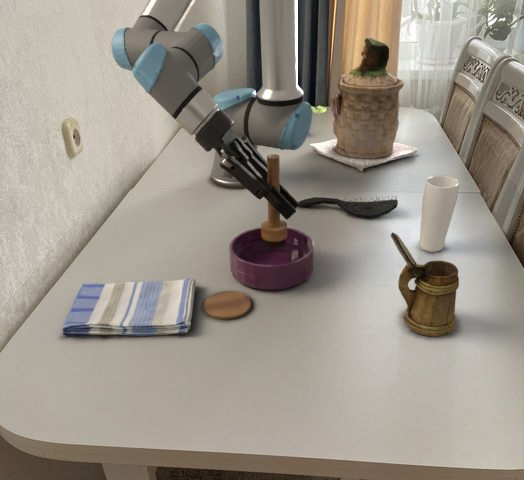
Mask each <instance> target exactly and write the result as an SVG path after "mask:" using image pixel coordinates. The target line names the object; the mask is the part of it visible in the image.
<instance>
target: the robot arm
mask: <svg viewBox="0 0 524 480" xmlns="http://www.w3.org/2000/svg"><path fill="white" fill-rule="evenodd" d="M196 1H197V0H148V1H147V3H146V4H145V6H144V8H143V9H142V11H141V12H140V14H139V16H138V17H137V20H136V21H135V23H134V24H133V26H132V27H128V26H127V27H124V28H123V27H122V28H119V29H118V30H116V31H115V32H114V34H113V35H112V38H111V54H112V57H113V60H114V61H115V63H116V64H117V66H119V67H120V68H121V69H124V70H127V71H132V76H133V78H134V79H135V80H136V81H137V82H138V84H139V85H140V86H141V87H142V88H143V89H144V91H145V92H146V93H147V94H148V95H149V96H150V97H151V98H153V99H154V100H155V102H157V104H159V106H161V107H162V109H164V110H165V112H167V113H168V114H169V115H170V116H171V117H172V118H173V119H174V120H175V121H176V122H177V123H178V125H179V127H180V128H181V129H184V130H185V131H186V132H187V134H189V135H190V136H193V135H194V139H195V142H196V143H197V144H198V145H199V146H200V147H202V149H204V151H205V152H211V150H212V149H213V150H215V155H214V159H213V164H212V168H211V172H210V174H211V175H210V176H211V181H212V183H214V184H215V185H217V186H219V187H223V188H226V189H227V188H228V189H242V188H244V189H246V190H247V191H248V192H250V193H251V194H252V195H253V196H254V197H255V198H256V199H257V200H262V199H263V198H264V199H265V200H266V201H267V203H268V202H269V203H270V204H271V205H272V206H273V207H274V208H275V209H276V210H277V211H278V212H279V213H280V216H282V217H283V218H284V219H285V220H286V221H288V220H289V219H290V218H291V217H292V216H293V215H295V214H296V213H297V211H298V210H297V209H296V208H298V207H300V206H299V203H298V202H299V201H297V199H296V198H294V196H292V194H291V193H290V192H289V191H288V189H286V188H285V187H284V186H283V185H282V184H281V183H280V192H279V191H278V190H277V189H276V188H275V187H273V188H271V186H270V185H269V184H268V183H267V159H266V158H264V157H263V155H262V154H261V153H260V152H259V147H258V146H261V147H267V148H273V149H279V150H281V151H284V150H286V151H289V150H290V151H295V150H298V149H300V148H301V147H302V146H303V144H304V143H305V142H306V140H307V137H308V136H309V134H310V132H309V130H310V127H311V128H312V121H313V111H312V108H311V107H312V105H311V104H310V103H309V102H308V101H304V90H303V89H302V88H301V87H300V86H299V84H298V0H259V24H260V49H261V52H260V53H261V75H262V77H261V79H262V86H261V87H260V89H258V91H256V89H255V88H252V87H242V88H233V89H228V90H225V91H222V92H218V93H217V94H216V95H214V96H213V97H212V96H211V95H209V93H208V92H207V91H206V89H204V88H203V87H202V86H201V85H200V83H199V82H200V81H201V80H202V79H203V78H204V77H205V76H206V75H207V74H209V73H210V72H211V71H212V70H214V69H215V67H216V65H217V64H218V63H219V61H221V59H222V57H223V55H224V44H223V40H222V37H221V36H220V34H219V32H218V31H217V30H216V29H215V28H214V27H213V26H211V25H210V24H207V23H198V24H196V25H194V26H193V27H190V29H188V31H179V30H180V28H181V26H182V24H184V22H185V19H186V18H187V16H188V14H189V13H190V11H191V9H192V8H193V6H194V4H195V2H196ZM310 131H311V130H310ZM308 133H309V134H308Z"/></svg>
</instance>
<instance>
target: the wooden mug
mask: <svg viewBox="0 0 524 480" xmlns="http://www.w3.org/2000/svg"><path fill="white" fill-rule="evenodd" d="M390 238H391V239H392V242H393V243H394V245H395V247H396V248H397V250H398V253H399V254H400V255H401V257H402V258H403V259H404V261H405V263H406V264H405V266H404V267H403V268H402V270H401V272H400V274H399V277H398V280H397V282H398V283H397V284H398V285H397V286H398V290H399V292H400V294H401V296H402V298H403V299H404V301H405V303H406V309H405V312H404V315H403V322H404V324H405V325H406V326H407V327H408V329H410V330H411V331H412V332H414V333H416V334H418V335H421V336H426V337H441V336H445V335H447V334H450V333H451V332H453V331H454V330H455V328H456V320H457V319H456V318H457V317H456V314H455V313H456V299H457V290H458V289H459V286H460V277H459V269H458V268H457V266H456V265H455V264H454V263H452V262H449V261H445V260H430V261H427V262H425V263H424V264H420V263H417V261H416V260H415V258H414V257H413V255H412V254H411V252H410V250H409V249H408V247H407V246H406V245H405V243H404V242H403V240H402V239H401V237H400V236H399V235H398V234H397V233H396V232H391V234H390ZM413 279H414V285H415V286H414V289H411V288H410V287H409V283H410V281H411V280H413Z"/></svg>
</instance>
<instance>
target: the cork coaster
mask: <svg viewBox="0 0 524 480" xmlns="http://www.w3.org/2000/svg"><path fill="white" fill-rule="evenodd" d="M251 307H252V302H251V299H250V298H249V296H248V295H246V294H244V293H242V292H240V291H233V290H226V291H225V290H224V291H219V292H216V293H213V294H211V295H210V296H208V297H207V298H206V299H205V301H204V304H203V308H204V312H205V313H206V314H207V315H208V316H209V317H211V318H214V319H217V320H223V321H224V320H225V321H226V320H235V319H238V318H241V317H243V316H245V315H246V314H247V313H248V312H250V310H251Z"/></svg>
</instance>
